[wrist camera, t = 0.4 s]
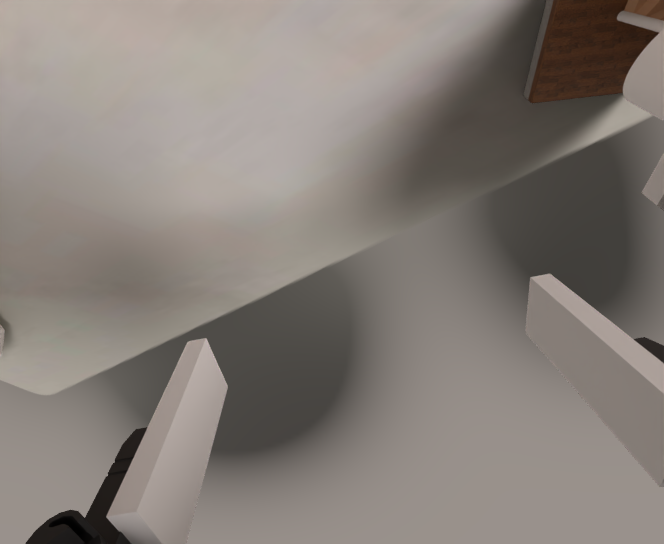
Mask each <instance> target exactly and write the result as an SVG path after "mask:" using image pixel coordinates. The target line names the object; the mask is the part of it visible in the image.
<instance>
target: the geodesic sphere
mask: <svg viewBox="0 0 664 544" xmlns="http://www.w3.org/2000/svg"><path fill="white" fill-rule="evenodd" d="M4 332H5V330H4V329H3V327H2V326H1V325H0V357H1V356H2V351H3V342H4Z"/></svg>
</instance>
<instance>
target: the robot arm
mask: <svg viewBox="0 0 664 544" xmlns="http://www.w3.org/2000/svg"><path fill="white" fill-rule="evenodd" d="M525 332H526V334H527V335H528V336H529V337H530V338H531V340H532V341H533V342H534V343H535V344H536V345H537V347H539V349H540V350H541V351H542V352H543V353H544V355H545V356H546V357H547V358H548V359H549V360H550V361H551V363H552V364H553V365H554V366H555V367H556V368H557V369H558V371H559V372H560V373H561V374H562V375H563V376H564V378H565V379H566V380H567V381H568V382H569V383H570V384H571V386H572V387H573V388H574V389H575V390H576V391H577V392H578V394H579V395H580V396H581V397H582V398H583V399H584V400H585V402H586V403H587V404H588V405H589V406H590V407H591V408H592V410H593V411H594V412H595V413H596V414H597V415H598V417H599V418H600V419H601V420H602V421H603V422H604V423H605V425H606V426H607V427H608V428H609V429H610V430H611V431H612V433H613V434H614V435H615V436H616V437H617V438H618V439H619V441H620V442H621V443H622V444H623V445H624V446H625V448H626V449H627V450H628V451H629V452H630V453H631V454H632V455H633V457H634V458H635V459H636V460H637V461H638V462H639V463H640V465H641V466H642V467H643V468H644V469H645V471H646V472H647V473H648V474H649V475H650V476H651V477H652V478H653V480H654V481H655V482H656V483H657V484H658V485H659V487H663V486H664V346H663V345H661V344H659V343H656V342H654V341H652V340H649V339H647V338H645V337H644V338H638V339H632V338H631V337H630V336H628V335H627V334H626V333H625V332H623V331H622V330H621V329H619V328H618V327H617V326H616V325H614V324H613V323H612V322H611V321H609V320H608V319H607V318H606V317H604V316H603V315H602V314H600V313H599V312H598V311H597V310H595V309H594V308H593V307H592V306H590V305H589V304H588V303H586V302H585V301H584V300H583V299H581V298H580V297H579V296H577V295H576V294H575V293H573V291H571V290H570V289H568V288H567V287H566V286H565V285H564V284H562V283H561V282H560V281H559V280H557V279H556V278H555V277H553V276H552V275H551V274H546V275H541V276H535V277H531V278H530V287H529V298H528V309H527V320H526V331H525ZM227 388H228V386H227V384H226V382H225V379H224V377H223V375H222V373H221V370H220V368H219V366H218V364H217V361H216V359H215V357H214V355H213V353H212V350H211V348H210V346H209V344H208V341H207V339H206V338H204V339H199V340H193V341H188V342H187V344H186V346H185V349H184V351H183V353H182V355H181V357H180V359H179V361H178V364H177V366H176V368H175V370H174V372H173V374H172V376H171V379H170V381H169V383H168V385H167V387H166V389H165V391H164V394H163V396H162V398H161V400H160V402H159V404H158V407H157V409H156V411H155V413H154V415H153V417H152V419H151V422H150V424H149V426H148V427H146V428H141V429H136V430H135V431H134V432H133V433H132V434H131V435H130V437H129V438H128V439H127V440H126V441H125V442H124V444H123V445H122V447H121V449H120V451H119V453H118V455H117V456H116V458H115V463H113V465H112V466H111V468H110V470H109V472H108V476H107V477H106V478H105V480H104V482H103V484H102V486H101V488H100V490H99V492H98V493H97V495H96V497H95V499H94V501H93V503H92V505H91V507H90V509H89V511H88V513H87V515H86V517H85V518H84V517H83V516H82V515H81V514H80V513H79V512H78V511H74V510H69V511H65V512H61V513H59V514H57V515H55V516H54V517H52V518H50V519H49V520H47V521H46V522H45V523H44V524H43V525H42V526H40V527H39V528H38V529H37V530H36V531H35V532H34V533H33V535H32V536H31V537H30V538H29V540H28V541H27V542H26V544H186V542H187V539H188V535H189V531H190V527H191V523H192V520H193V516H194V512H195V508H196V505H197V501H198V497H199V493H200V490H201V485H202V482H203V478H204V475H205V471H206V467H207V463H208V459H209V456H210V451H211V448H212V444H213V441H214V437H215V433H216V429H217V425H218V421H219V418H220V414H221V410H222V407H223V403H224V399H225V395H226V391H227Z"/></svg>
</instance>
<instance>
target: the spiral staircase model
mask: <svg viewBox="0 0 664 544" xmlns="http://www.w3.org/2000/svg"><path fill="white" fill-rule="evenodd" d="M617 93H623V96H624V98H625V99H626V100H627V101H629V102H631V103H632V104H634V105H636V106H638V107H640V108H641V109H643V110H645V111H647V112H649V113H650V114H652V115H654V116H656V117H658V118H660V119H661V120H663V121H664V0H546V4H545V8H544V12H543V17H542V21H541V25H540V29H539V33H538V37H537V41H536V45H535V49H534V53H533V57H532V61H531V66H530V70H529V74H528V78H527V82H526V86H525V90H524V94H523V96H524V97H525V98H526V99H527V100H529V101H530V102H531V103H538V102H547V101H556V100H565V99H573V98H582V97H591V96H600V95H608V94H617ZM642 193H643V194H644V195H645V196H646V197H647V198H649V199H650V200H651V201H652V202H654V203H655V204H656V205H657V206H659V207H660V208H661V209H662V210H663V211H664V153H663V155H662V157H661V159H660V160H659V162H658V164H657V166H656V168H655V169H654V171H653V173H652V175H651V177H650V178H649V180H648V182H647V184H646V186H645V187H644V189H643V191H642Z"/></svg>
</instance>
